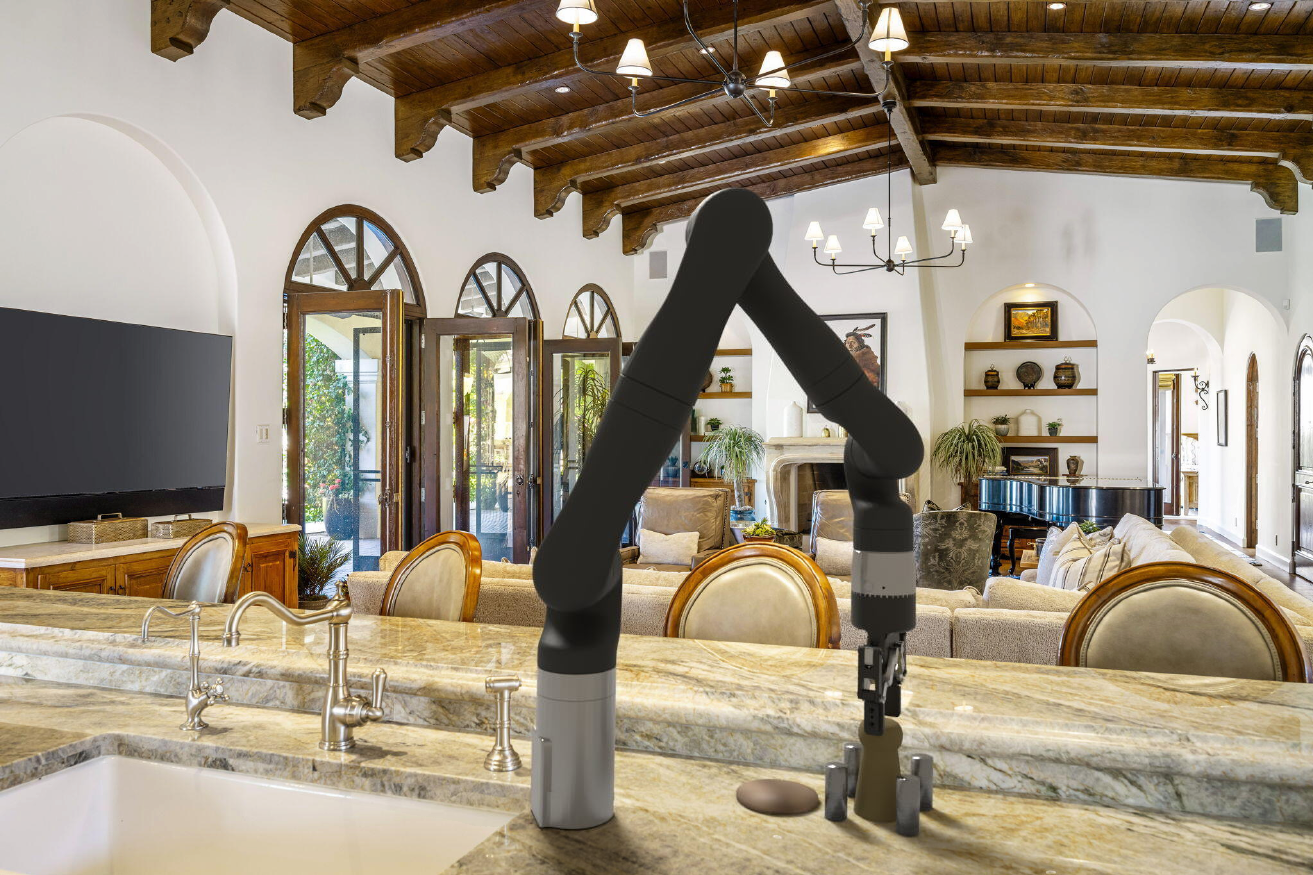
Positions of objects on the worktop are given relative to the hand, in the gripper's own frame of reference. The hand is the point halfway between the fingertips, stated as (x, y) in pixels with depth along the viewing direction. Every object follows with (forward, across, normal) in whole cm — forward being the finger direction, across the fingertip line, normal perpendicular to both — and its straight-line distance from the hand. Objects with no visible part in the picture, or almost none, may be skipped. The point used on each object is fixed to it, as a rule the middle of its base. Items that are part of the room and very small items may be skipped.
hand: (883, 724), depth 107 cm
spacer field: (+10, 0, 0) cm, 10 cm away
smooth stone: (+10, -2, +12) cm, 16 cm away
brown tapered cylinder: (+11, 0, 0) cm, 11 cm away
